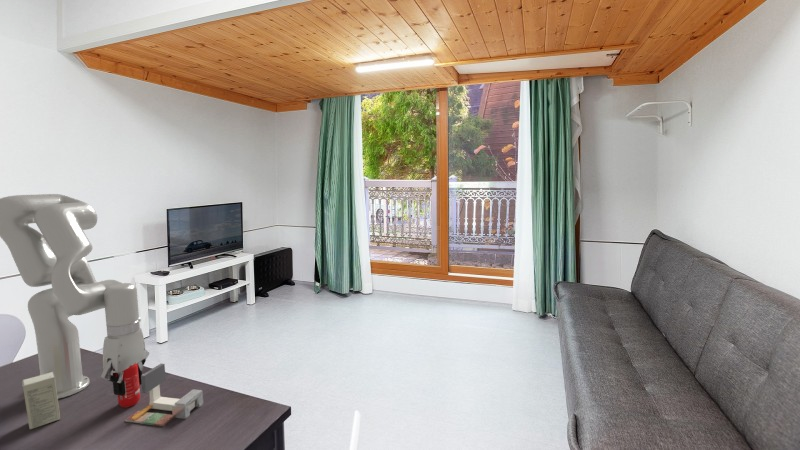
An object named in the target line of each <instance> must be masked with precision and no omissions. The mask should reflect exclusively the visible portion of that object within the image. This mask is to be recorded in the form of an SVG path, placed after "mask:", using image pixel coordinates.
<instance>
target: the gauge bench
mask: <svg viewBox="0 0 800 450" xmlns="http://www.w3.org/2000/svg"><path fill="white" fill-rule="evenodd" d="M203 394H204V393H203V390H201V389H191V390H190V391H189V392H188V393H186V394H185V395H183V396H182V397H180V398H178V399H179V400H178V401H177V402H175V404H174V405H173V406H172V411H171V412H172V414H167V413H162V412H161V413H159V412H148V411H146V412H145V413H143V414H142V415H141V416H139V417H138V418H136V419H135V420H132V419H131V417H133V416H134V415H136V414H137V413H138V412H140V411H141V410H136V412H134V413H132V414H131V415H130V416H128V417H126V418H125V419H124V422H128V423H135V424H141V425H149V426H155V427H164V426H165V425H166V424H168V423H169V422H171V420H173V419H174V418H175V419H176V418H178V419H188V418H189V417H190V415H191V411H190V408H189V404H190V403H191V402H193V401H195V407H194V408H200V407H202V406H203V405H204V397H203V396H204V395H203Z"/></svg>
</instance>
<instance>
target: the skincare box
mask: <svg viewBox="0 0 800 450" xmlns="http://www.w3.org/2000/svg"><path fill="white" fill-rule="evenodd" d="M22 392H23V397H24V404H25V409H26V416H27V421H28V422H27V423H28V428H29V430H33V429H35V428H38V427H43V426H44V425H47V424H49V423H53V422H56V421H59V420H61V412H60V406H59V399H58V397H57V391H56V384H55V377H54V373H53V372H50V373H46V374H43V375H40V374H39V375H36V376H32V377H29V378H25V379H22Z"/></svg>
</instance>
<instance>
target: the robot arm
mask: <svg viewBox="0 0 800 450" xmlns="http://www.w3.org/2000/svg"><path fill="white" fill-rule="evenodd" d="M97 223H98V214H97V212H96V210H95V209H94V208H93V207H92V206H91V205H90V204H88V203H87V202H85V201H82V200H79V199H76V198H73V197H71V196H68V195H63V194H58V193H48V194H46V193H45V194H17V195H8V196H4V197H0V238H1V239H2V240H3V242H4V243H5V245H6V246H7V247H8V249H9V251H10V254H11V256H12V258H13V261H14V264H15V266H16V268H17V270H18V272H19V274H20V277H21V278H22V280H23V282H24V283H25V284H26V286H29V287H31V288H41V287H46V286H50V285H51V288H48V289H47V288H46V289H44V290H41V291H38V292H36V293H35V294H33V295H32V296H31V297H30V298H29V300H28V302H27V311H28V313H29V314H28V315H29V316H30V319H31V321H32V324H33V327H34V328H33V329H34V334H35V339H36V340H35V341H36V348H37V356H38V357H37V358H38V366H39V375H43V374H46V373H50V372H53V373H54V377H55V384H56V391H57V397H58V400H59V399H62V398H66V397H70V396H72V395H75V394H77V393H79V392H81V391H83V390H84V389H86V388H87V387H88V386H89V384H90V377H88V376H86V375H83V367H82V359H81V358H82V357H81V356H82V355H81V347H80V346H81V345H80V336H79V330H78V328H77V326H76V325H75V324H74V323H73V322H71V321H70V320H69V317H72V316H82V315H85V314H88V313H91V312H95V311H98V310H101V309H104V313H105V315H104V316H105V323H106V324H105V325H106V334H107V335H106V337H104V341H103V345H102V346H103V347H102V369H103V371H102V373H101V375H100V378H101V379H104V380H107V381H108V382H110V383H112V387H113V389H112V391H113V394H114V395H115V396H118V395H121V396H123V395H125V382H124V381H122V379H123V373H124V370H126V369H127V368H129V366H130V365H133V364H134V363H137V364H138V375H139V386H140V385H141V386H142V383H141V375H142V374H143V372H142V371H143V370H144V366H145V363H146V361H147V359H148V357H149V355H150V352H149V351H148V350H147V349H146V343H145V338H144V334H143V330H142V328H141V327H140V326H141V325H140V322H141V321H142V319H141V317H140V314H139V313H140V312H139V300H138V289H137V286H136V285H135V284H134V283H132V282H131V283H130V282H124V283H123V282H121V281H118V280H115V279H106V280H101V281H97V280H96V278H95V276H94V273H93V271H92V269H91V266H90V264H89V262H88V260H87V258H86V257H87V256H88V255H89V254H90V253H91V252H92V250H93V245H92V243H91V241H90V239H89V238H88V237H87V235H86V234H85V231H88V230H90V229H93V228H94V227H95V226H96V225H97ZM29 224H36V226H37V227H38V230H36V229H35V228H34V227H31V226H29ZM116 373H118V377H116Z"/></svg>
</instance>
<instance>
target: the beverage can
mask: <svg viewBox="0 0 800 450" xmlns="http://www.w3.org/2000/svg"><path fill="white" fill-rule="evenodd" d="M116 377H118V373H116ZM122 381H124V382H125V395H123V396H121V395H117V403H118V404H119V406H120V407H121V408H123V409H124V408H130V407H133V406H136V405H138V403H139V402H140V399H141V389H140V388H141V387H140V385H139V375H138V364H137V363H134V364H133V365H130V366H129V368H127V369H126V370H124V373H123V379H122Z"/></svg>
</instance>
